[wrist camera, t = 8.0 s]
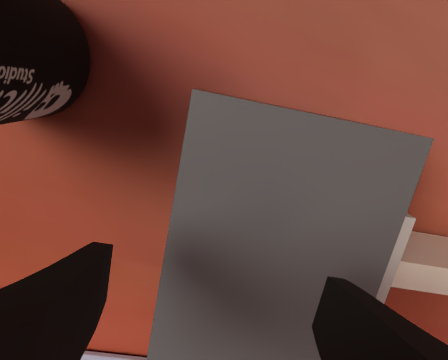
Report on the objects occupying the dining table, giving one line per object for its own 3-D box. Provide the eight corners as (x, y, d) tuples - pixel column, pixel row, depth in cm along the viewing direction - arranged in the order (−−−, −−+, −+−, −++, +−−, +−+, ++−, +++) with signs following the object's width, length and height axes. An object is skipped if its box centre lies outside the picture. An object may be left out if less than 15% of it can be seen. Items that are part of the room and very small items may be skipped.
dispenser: (306, 315, 24) (348, 404, 17) (160, 295, 23) (142, 384, 16) (365, 123, 20) (447, 141, 14) (195, 88, 19) (192, 88, 12)
